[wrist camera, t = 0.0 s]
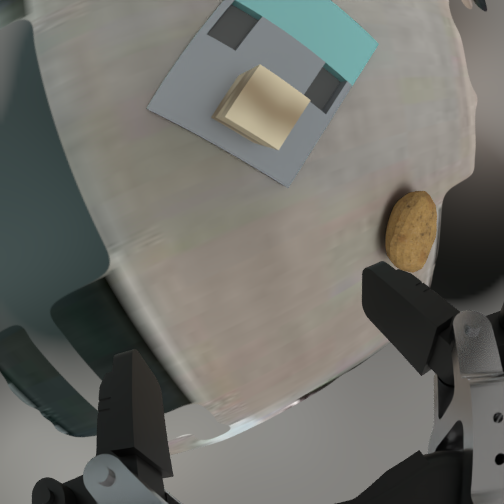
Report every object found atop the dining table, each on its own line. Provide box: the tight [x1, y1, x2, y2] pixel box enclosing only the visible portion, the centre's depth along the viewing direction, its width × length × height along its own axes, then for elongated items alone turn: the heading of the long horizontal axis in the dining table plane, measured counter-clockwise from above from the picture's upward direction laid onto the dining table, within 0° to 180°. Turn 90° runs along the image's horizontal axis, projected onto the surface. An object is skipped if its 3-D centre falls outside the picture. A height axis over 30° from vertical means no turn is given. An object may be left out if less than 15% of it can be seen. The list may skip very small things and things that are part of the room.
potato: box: [385, 191, 437, 272], centre depth 44 cm, size 10×14×8 cm
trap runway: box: [146, 0, 378, 188], centre depth 31 cm, size 26×20×2 cm
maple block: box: [211, 64, 311, 150], centre depth 28 cm, size 6×6×8 cm
